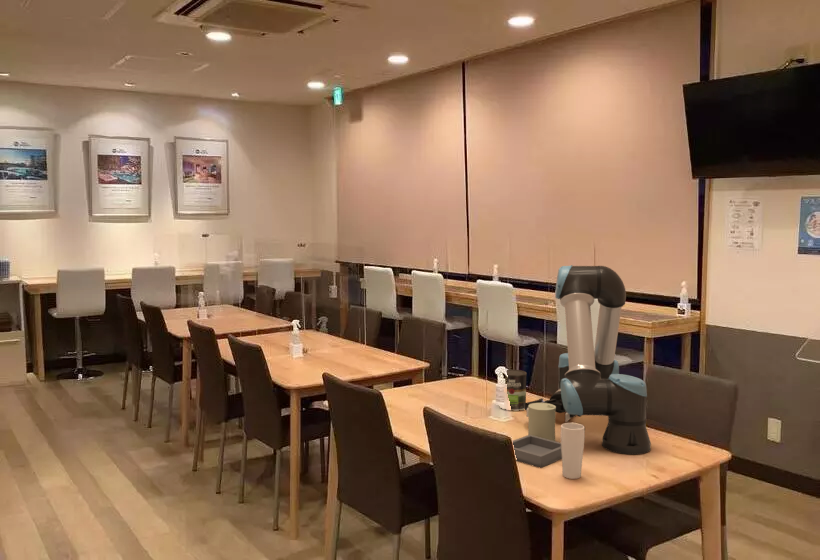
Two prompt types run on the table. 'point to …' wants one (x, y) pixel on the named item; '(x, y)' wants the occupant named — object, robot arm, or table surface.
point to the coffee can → (516, 389)
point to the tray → (537, 450)
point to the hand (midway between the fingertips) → (546, 415)
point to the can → (542, 420)
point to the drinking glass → (572, 449)
